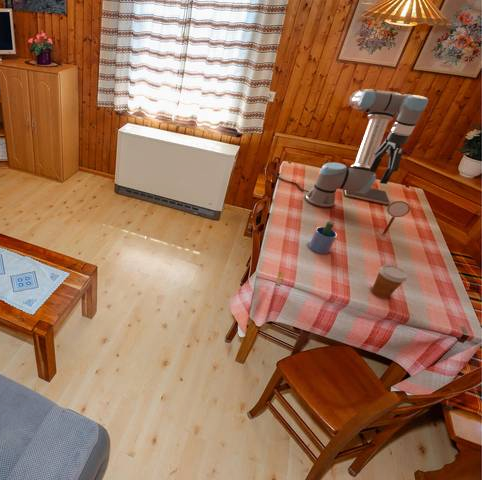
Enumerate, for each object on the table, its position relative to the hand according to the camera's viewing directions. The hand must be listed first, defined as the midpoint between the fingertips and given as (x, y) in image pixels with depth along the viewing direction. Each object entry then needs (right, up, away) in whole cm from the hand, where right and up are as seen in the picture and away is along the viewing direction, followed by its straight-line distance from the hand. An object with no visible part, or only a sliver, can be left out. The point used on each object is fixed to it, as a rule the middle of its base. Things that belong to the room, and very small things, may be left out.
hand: (377, 177), depth 177 cm
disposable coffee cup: (-13, -52, -20) cm, 57 cm away
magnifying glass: (+16, -27, +18) cm, 36 cm away
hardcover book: (+32, -2, +55) cm, 63 cm away
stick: (-25, -33, +5) cm, 42 cm away
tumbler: (-25, -34, +5) cm, 42 cm away
